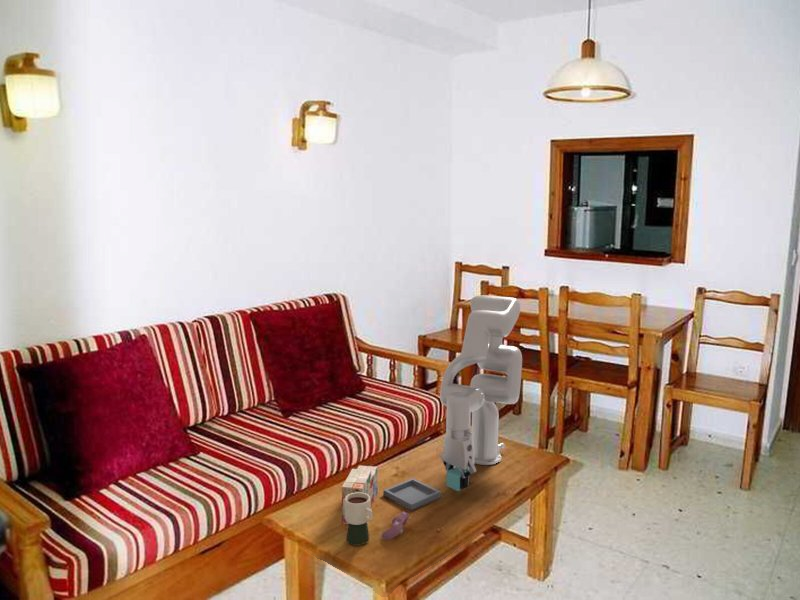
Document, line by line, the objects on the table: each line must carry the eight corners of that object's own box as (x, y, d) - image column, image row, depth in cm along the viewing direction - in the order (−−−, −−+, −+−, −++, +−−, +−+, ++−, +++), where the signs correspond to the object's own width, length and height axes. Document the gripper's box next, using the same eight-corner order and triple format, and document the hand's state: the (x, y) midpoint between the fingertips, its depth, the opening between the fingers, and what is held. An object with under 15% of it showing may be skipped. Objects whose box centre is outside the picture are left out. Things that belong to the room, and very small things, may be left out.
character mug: (380, 543, 181) (380, 499, 179) (362, 553, 176) (362, 509, 173) (353, 529, 188) (352, 487, 186) (334, 539, 183) (334, 496, 180)
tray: (412, 483, 217) (412, 477, 217) (441, 497, 208) (441, 491, 207) (383, 495, 208) (383, 489, 208) (411, 510, 199) (411, 504, 199)
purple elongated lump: (392, 547, 182) (403, 529, 180) (379, 538, 183) (389, 519, 181) (404, 530, 191) (415, 512, 189) (391, 521, 192) (401, 503, 190)
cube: (456, 480, 213) (457, 466, 212) (468, 486, 209) (468, 471, 208) (446, 485, 209) (446, 471, 208) (457, 491, 206) (458, 476, 205)
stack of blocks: (358, 491, 211) (358, 456, 209) (377, 493, 210) (378, 457, 208) (341, 525, 191) (341, 486, 188) (362, 527, 189) (362, 487, 187)
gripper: (486, 436, 202) (485, 490, 205) (446, 420, 214) (446, 472, 218) (470, 443, 197) (469, 498, 200) (430, 427, 209) (430, 479, 213)
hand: (457, 484), depth 209 cm, fingers closed on cube, 4 cm apart
